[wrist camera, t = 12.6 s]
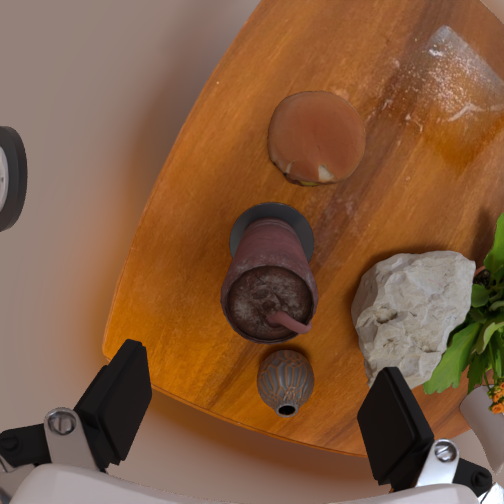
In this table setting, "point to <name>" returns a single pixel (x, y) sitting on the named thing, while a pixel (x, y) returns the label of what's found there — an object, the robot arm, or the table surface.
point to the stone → (411, 311)
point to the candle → (485, 425)
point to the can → (269, 284)
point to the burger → (316, 138)
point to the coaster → (274, 211)
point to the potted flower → (478, 332)
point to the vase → (285, 381)
